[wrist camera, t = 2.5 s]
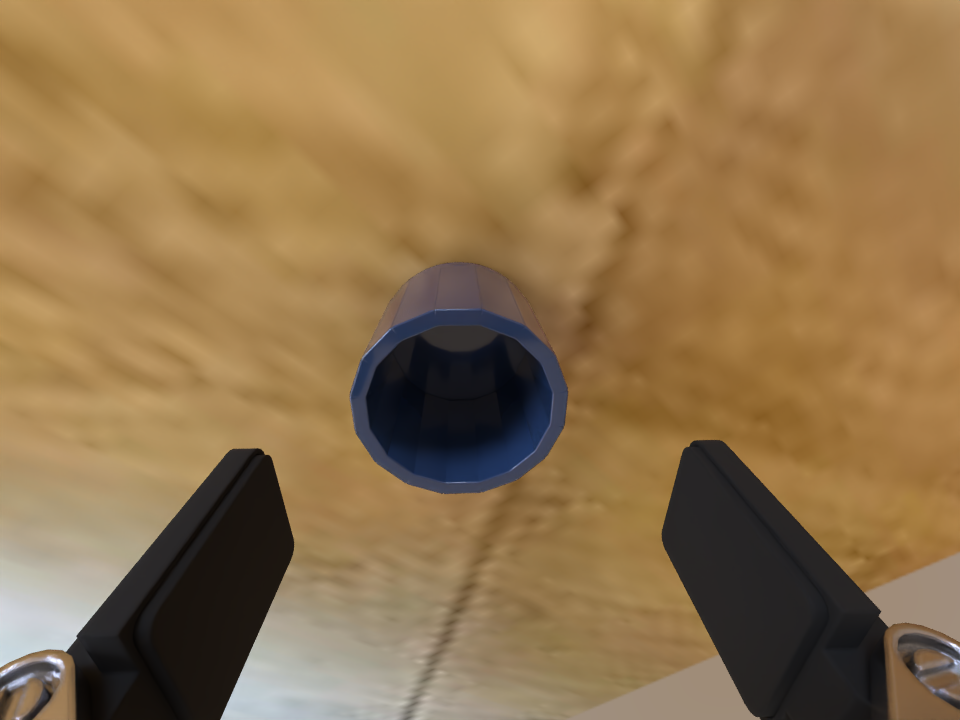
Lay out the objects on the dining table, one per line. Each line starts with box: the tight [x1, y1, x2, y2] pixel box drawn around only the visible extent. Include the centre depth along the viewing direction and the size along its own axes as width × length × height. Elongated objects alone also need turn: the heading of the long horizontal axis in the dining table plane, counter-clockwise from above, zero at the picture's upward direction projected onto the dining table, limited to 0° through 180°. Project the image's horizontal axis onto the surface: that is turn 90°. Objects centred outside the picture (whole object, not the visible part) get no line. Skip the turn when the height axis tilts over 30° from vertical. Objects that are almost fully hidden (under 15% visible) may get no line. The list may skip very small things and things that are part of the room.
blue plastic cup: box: [350, 262, 568, 494], centre depth 15 cm, size 7×7×6 cm
